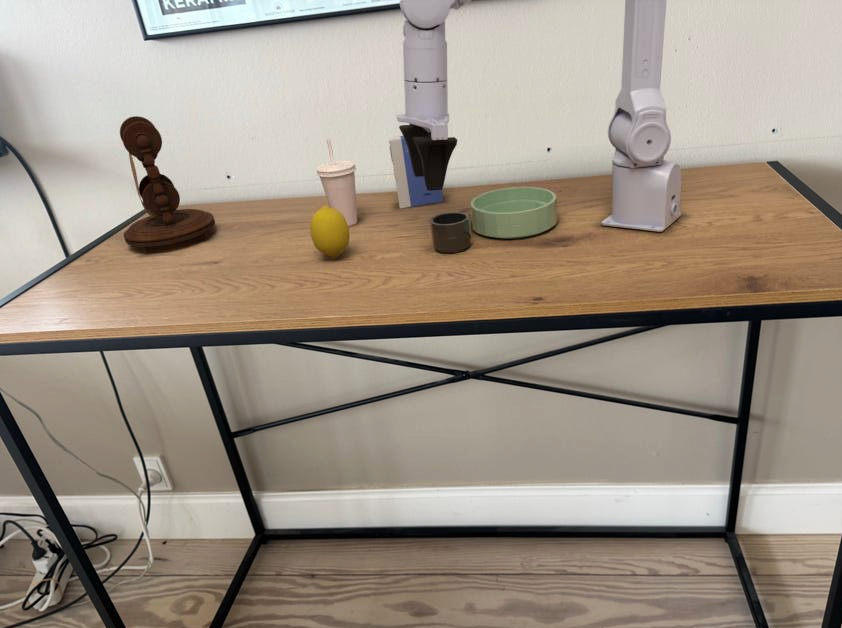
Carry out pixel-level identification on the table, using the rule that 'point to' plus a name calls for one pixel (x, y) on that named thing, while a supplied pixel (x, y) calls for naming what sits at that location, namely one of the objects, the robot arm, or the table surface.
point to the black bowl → (451, 232)
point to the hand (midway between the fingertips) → (428, 182)
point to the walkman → (409, 178)
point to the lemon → (329, 231)
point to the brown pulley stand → (158, 194)
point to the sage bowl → (514, 212)
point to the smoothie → (340, 186)
